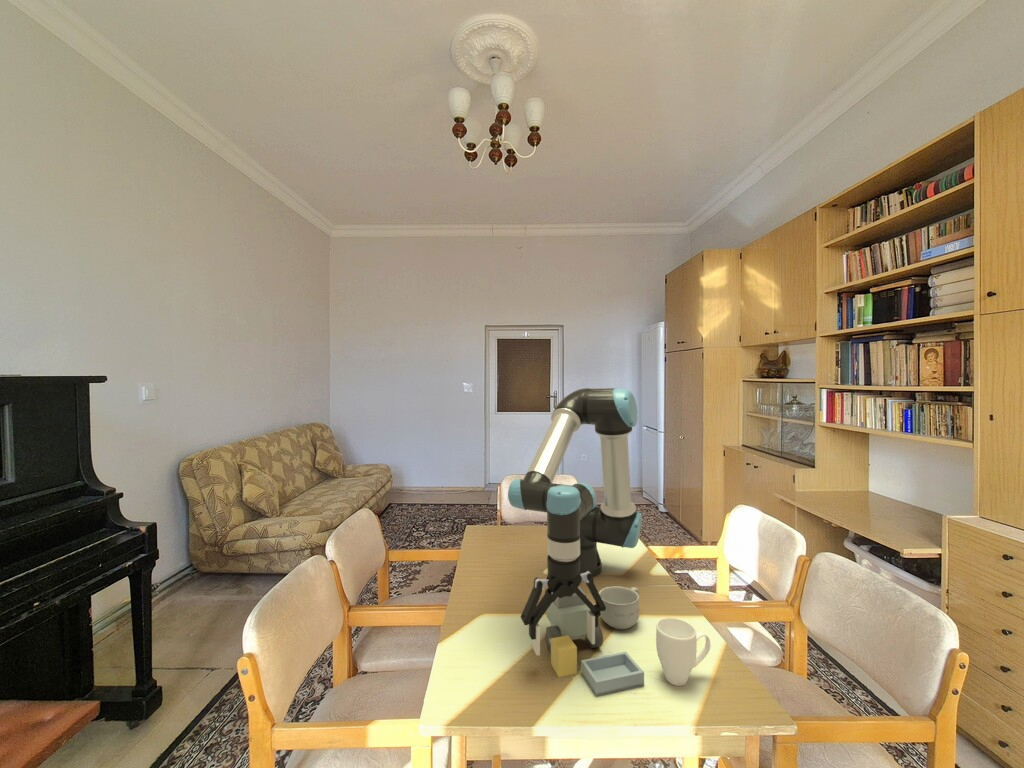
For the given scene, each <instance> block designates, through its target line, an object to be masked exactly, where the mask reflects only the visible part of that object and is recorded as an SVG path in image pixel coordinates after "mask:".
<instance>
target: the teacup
mask: <svg viewBox="0 0 1024 768" xmlns="http://www.w3.org/2000/svg"><path fill="white" fill-rule="evenodd" d="M598 593H599V595H600V597H601V599H602V601H603V603H604V605H605V607H606V610H605V611H601V612H600V613H601V615H600V616H601V618H602V621H604V622H605V623H606V624H607V625H608V626H609V627H611V628H613V629H615V630H627V629H629V628H631V627H633V626H634V625H635V624H637V622H638V621H639V617H640V590H639V588H638V587H635V586H633V587H631V588H629V587H625V586H618V585H617V586H614V585H613V586H607V587H603V588H602V589H601V588H600V590H598Z"/></svg>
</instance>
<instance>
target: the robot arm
mask: <svg viewBox="0 0 1024 768" xmlns="http://www.w3.org/2000/svg"><path fill="white" fill-rule="evenodd" d="M550 418H551V419H550V420H551V423H550V424H549V427H548V429H547V431H546V433H545V435H544V437H543V439H542V441H541V443H540V444H539V447H538V449H537V451H536V453H535V456H534V458H533V459H532V461H531V464H530V465H529V468H528V470H527V471H526V473H525V475H524V477H523V479H522V478H515V479H514V480H512V481H511V482H510V485H509V486H508V491H507V499H508V502H509V504H510V506H512V507H513V508H515V509H516V508H517V509H521V510H524V511H534V512H542V513H546V518H547V519H546V520H547V522H546V523H547V524H546V525H547V527H546V528H547V529H546V530H547V532H546V533H547V534H546V536H547V537H546V539H547V544H546V545H547V549H546V550H547V556H546V557H547V558H546V559H547V562H546V563H547V566H546V567H547V568H546V569H547V577H546V578H543V579H540V578H539V577H534V580H533V588H532V590H531V592H530V594H529V596H528V599H527V601H526V603H525V605H524V607H523V610H522V612H521V615H520V619H521V622H522V623H523V625H524V626H528V635H529V638H530V639H531V641H532V649H533V650H534V653H535V655H536V656H541V626H540V624H539V622H540V620H541V619H542V618H543V616H544V615H545V613H547V609H548V608H549V606H550V605H551V603H552V602H554V601H555V600H556V598H557V597H559V598H563V597H565V596H568V597H570V596H572V595H573V594H574V593H576V594H577V595H578V597H579V598H580V599H581V600H582V601H583V602H584V603H585V604H586V605H587V606H588V607H589V609H590V610H591V611H590V610H588V611H587V638H588V640H589V641H590V642H591V644H595V628H596V627H598V622H599V617H600V616H601V613H600V612H601V611H605V610H606V607H605V605H604V603H603V601H602V599H601V597H600V595H599V590H598V589H597V587H596V585H595V583H594V577H597V576H598V575H600V573H602V569H603V564H602V559H601V557H600V554H599V550H598V545H597V543H599V544H604V545H610V546H615V547H620V548H629V549H634V548H635V547H636V546H637V545H638V542H639V540H640V534H641V530H642V522H643V515H642V513H641V512H639V511H637V506H636V504H635V503H634V502H633V501H632V493H631V477H630V476H631V475H630V457H629V435H630V433H632V432H633V427H636V425H637V423H638V407H637V401H636V399H635V396H634V394H633V393H632V391H630V390H629V389H626V388H618V387H617V388H616V387H615V388H612V387H611V388H609V387H607V388H589V387H588V388H586V387H585V388H580V389H577V390H576V389H575V390H574V391H572V392H571V393H569V394H568V395H565V397H564V398H563V399H561V400H560V402H559V403H558V404H557V405H556V406H555V408H554V410H553V411H552V413H551V416H550ZM582 425H593V426H594V432H595V433H596V434H597V435H598V436H599V438H600V453H601V468H602V469H601V470H602V480H603V481H602V482H603V484H602V485H603V495H604V497H603V498H604V499H603V500H604V501H603V502H602V503H601V504H600V505H599V506H600V507H599V506H598V504H597V495H596V494H597V493H596V492H595V489H594V488H593V487H592V486H591V485H590V484H588V483H585V482H576V483H574V484H572V485H570V484H561V483H554V480H555V477H556V475H557V473H558V470H559V468H560V465H561V463H562V460H563V459H564V456H565V454H566V452H567V449H568V447H569V444H570V443H571V440H572V439H573V438H572V437H573V436H574V433H575V432H577V431H578V430H579V429H580V427H581V426H582ZM582 581H583V583H585V584H586V586H587V588H588V590H589V592H590V595H591V596H592V599H593V600H594V602H595V604H593V603H592V602H591V601H590V599H588V597H587V595H586V596H585V595H584V594H583V593H582V592H581V591H580V590H579V588H578V586H579V587H580V584H581V583H582ZM546 586H547V588H546V590H545V587H546ZM543 591H544V594H543V596H542V593H543ZM552 592H553V594H551V593H552ZM540 598H541V599H540Z"/></svg>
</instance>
